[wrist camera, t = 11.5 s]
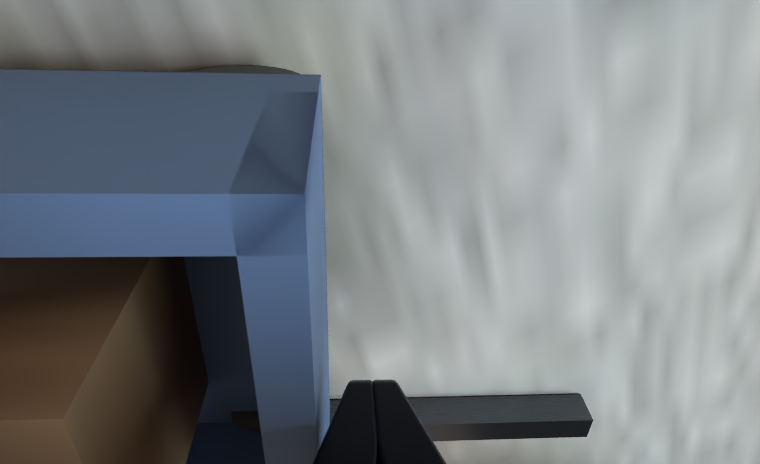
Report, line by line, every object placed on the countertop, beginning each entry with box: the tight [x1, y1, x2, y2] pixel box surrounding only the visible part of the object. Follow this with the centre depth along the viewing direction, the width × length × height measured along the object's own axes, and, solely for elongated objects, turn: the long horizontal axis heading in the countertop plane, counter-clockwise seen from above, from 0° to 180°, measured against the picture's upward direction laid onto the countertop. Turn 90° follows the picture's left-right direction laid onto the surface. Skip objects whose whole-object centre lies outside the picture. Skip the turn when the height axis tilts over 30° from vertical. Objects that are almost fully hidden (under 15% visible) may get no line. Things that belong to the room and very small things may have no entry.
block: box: [0, 257, 209, 464], centre depth 9 cm, size 4×4×4 cm
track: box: [329, 394, 593, 441], centre depth 11 cm, size 28×14×4 cm, turn 88°
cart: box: [0, 65, 330, 464], centre depth 10 cm, size 10×9×6 cm
